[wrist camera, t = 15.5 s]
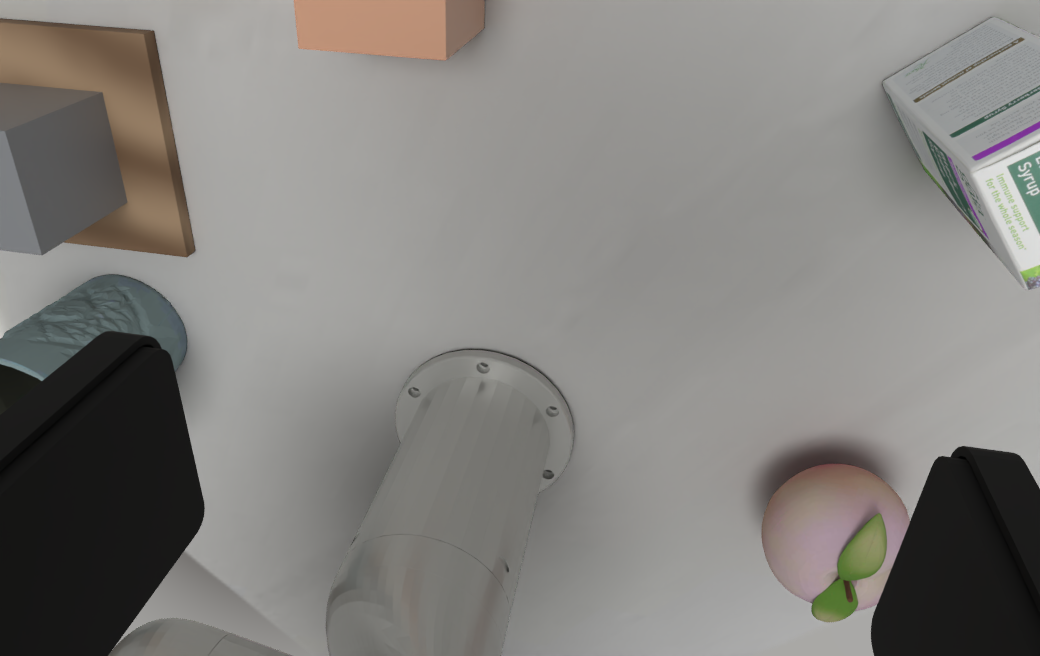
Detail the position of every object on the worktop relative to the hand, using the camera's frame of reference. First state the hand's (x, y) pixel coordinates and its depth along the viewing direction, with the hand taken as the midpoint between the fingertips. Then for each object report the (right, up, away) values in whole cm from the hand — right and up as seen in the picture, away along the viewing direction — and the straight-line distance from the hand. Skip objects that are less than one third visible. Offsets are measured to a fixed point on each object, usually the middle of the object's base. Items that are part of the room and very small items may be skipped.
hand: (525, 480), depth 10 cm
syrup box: (+22, +14, +30) cm, 40 cm away
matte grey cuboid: (-29, +13, +40) cm, 51 cm away
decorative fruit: (+20, -8, +44) cm, 49 cm away
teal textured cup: (-28, +2, +48) cm, 55 cm away
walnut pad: (-28, +14, +41) cm, 51 cm away
